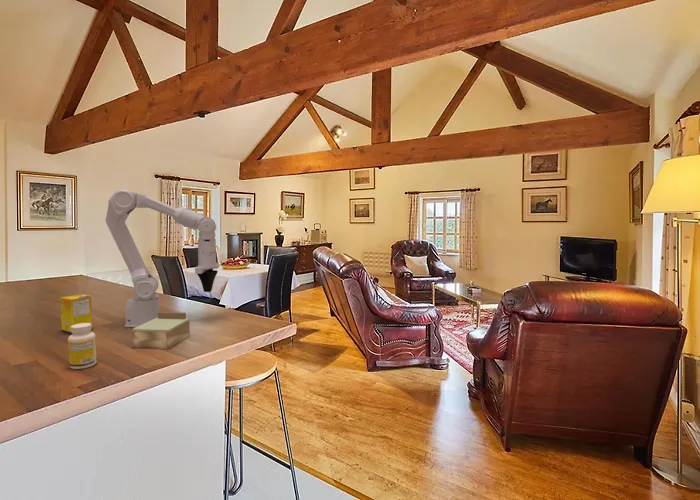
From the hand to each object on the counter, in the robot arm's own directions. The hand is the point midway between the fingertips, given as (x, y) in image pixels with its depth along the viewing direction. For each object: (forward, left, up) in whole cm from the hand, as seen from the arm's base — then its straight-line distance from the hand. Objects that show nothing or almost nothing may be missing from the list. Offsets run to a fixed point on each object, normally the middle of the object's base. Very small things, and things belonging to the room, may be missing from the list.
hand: (207, 291), depth 134 cm
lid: (-3, -24, -5) cm, 25 cm away
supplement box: (-34, -17, -10) cm, 39 cm away
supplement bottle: (-12, -43, -10) cm, 46 cm away
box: (-3, -24, -10) cm, 26 cm away
